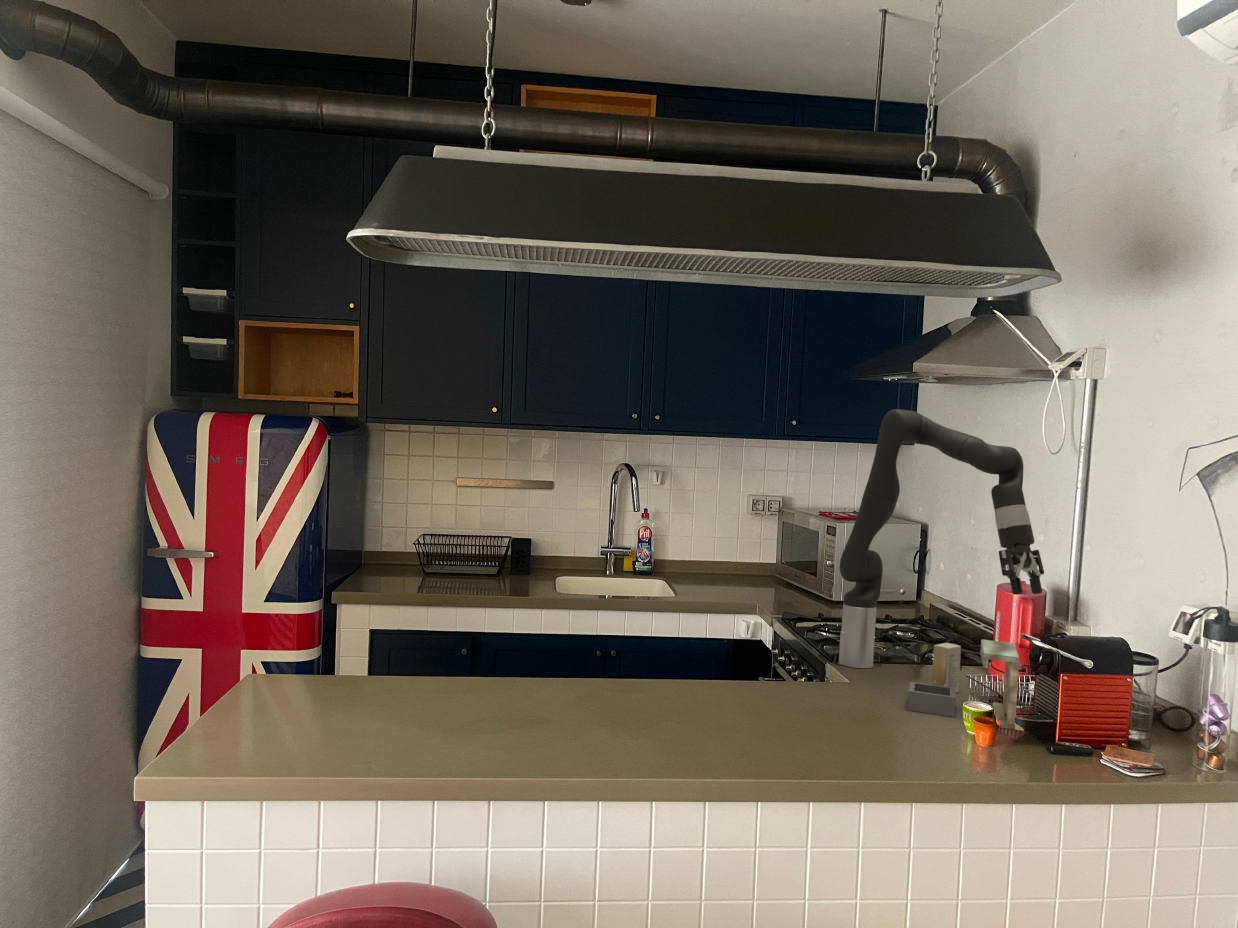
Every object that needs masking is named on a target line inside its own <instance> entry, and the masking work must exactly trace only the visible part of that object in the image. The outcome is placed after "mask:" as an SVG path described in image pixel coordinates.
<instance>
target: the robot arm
mask: <svg viewBox="0 0 1238 928" xmlns="http://www.w3.org/2000/svg"><path fill="white" fill-rule="evenodd" d="M878 433H879V434H878V437H877V442H876V449H875V453H874V458H873V462H872V464H871V468H870V473H869V476H868V479H867V482H866V485H865V488H864V491H863V494H862V498H861V501H860V505H859V508H858V512H857V515H856V518H855V520H854V524H853V527H852V530H851V533H850V535H849V537H848V540H847V542H846V543H845V544H846V545H845V547H844V549H843V552H842V554H841V557H840V561H839V572H840V574H841V575H840V576H841V578H842V579H844V581H847V582H849V583H851V582H852V583H855V585H854V587H853V588H852V589H851V590H849V591H848V592H846V593H845V594H844V595H843V600H842V601H843V602H842V603H843V604H842V618H841V631H840V637H839V654H838V665H841V666H846V667H849V668H856V669H871V668H873V666H874V652H875V651H874V650H875V634H876V620H877V618H876V617H877V604H878V600H879V598H880V595H881V589H882V581H883V571H884V569H883V561H882V558H881V555H880V554H879V553H878V552H877V551H875V550H872V549H869V548H870V545H871V544H872V541H873V539H874V538H875V536H876V535H877V534H878V533H879V532H880V531H881V529H882V528H883V527H884V526H885V525H886V523H888V521H889V520H890V518H891V517H892V516H893V514H894V512H895V509H896V505H897V502H898V499H899V497H900V490H901V489H900V488H901V487H900V480H899V475H898V471H897V470H898V469H897V460H898V456H899V454H900V453H899V452H900V449H901V447H902V444H904V445H910V444H911V445H912V444H917V445H923V446H927V447H928V446H929V447H933V448H935V449H937V450H938V451H939V452H941V453H942V454H944V455H946V456H947V457H949V458H951V459H954V460H957V461H960V462H962V463H964V464H967V465H968V464H969V465H970V466H971V467H973V468H975V469H976V470H979V471H981V472H983V473H986V474H990V475H998V484H995V485H994V486H992V488H991V490H990V491H991V493H990V494H991V499H992V504H993V508H994V509H993V510H994V520H995V524H996V529H997V535H998V539H999V540H998V541H999V545H1000V548H1002V549H1001V550H999V551H998V558H999V563H1000V568H1001V574H1002V576H1003V577H1005V576H1006V578H1007V579H1009V583H1010V587H1011V592H1012V595H1022V594H1023V590H1024V589H1023V585H1022V582H1021V581H1022V580H1021V577H1020V574H1021V571H1022V572H1024V573H1025V574H1026V575H1027V576H1028V578H1029V584H1030V588H1031V589H1030V590H1031V593H1032V594H1033V595H1038V594H1042V593H1043V587H1042V583H1041V578H1040V577H1042V575H1044V574H1045V570H1044V565H1043V562H1042V556H1041V553H1040V550H1039V549H1034V550H1032V549H1031V547H1030V546H1031V545H1034V543H1035V541H1036V540H1035V536H1034V533H1033V527H1032V524H1031V518H1030V514H1029V511H1028V509H1027V506H1026V501H1025V494H1024V491H1023V483H1024V461H1023V457H1022V455H1021V453H1020V452H1019V451H1018V449H1016V448H1014V447H1012V446H1007V445H1006V446H1004V445H995V444H991V443H987V442H985V441H984V440H983V438H982V439H981V438H980V437H978V436H974V435H972V434H969V433H965V432H962V431H959V430H955V429H952V428H949V427H946V426H943V425H942V424H939V423H937V422H935V421H933V420H932V419H930V418H928V417H926V416H925V415H923V414H922V413H919V412H917V411H915V410H909V409H908V410H907V409H900V408H898V409H897V408H896V409H891V410H889V411H888V412H887V413H885V415H884V416H883V419H882V420H881V424H880V428H879V432H878Z"/></svg>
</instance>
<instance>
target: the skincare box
mask: <svg viewBox="0 0 1238 928" xmlns="http://www.w3.org/2000/svg"><path fill="white" fill-rule="evenodd" d="M961 648H962V646H961V645H958V644H955V643H949V642H943V643H938V644H934V645H933V657H932V658H933V659H932V674H931V675H932V676H931V685H939V686H946V687H953V688H955V691H956V693H959V691H960V670H961V655H962V654H961V652H962V649H961Z"/></svg>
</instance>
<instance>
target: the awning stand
mask: <svg viewBox="0 0 1238 928" xmlns="http://www.w3.org/2000/svg"><path fill="white" fill-rule="evenodd" d="M979 654H980V657H981V665H982V669H988V670H989V660H993V661H994V660H995V661H1002V662H1004V663H1005V664H1004V665H1005V666H1004V678H1003V679H1004V680H1003V696H1002V703H1000V702H995V701H994V702H992V708H993V707H994V708H995V710H996V711H997V718H998V719H999V720H1000V723H1001V727H1000V728H1001V729H1002V728H1003V729H1008V730H1009V729H1010V730H1015V731H1021V732H1022V731H1024V729H1023V728H1022V727H1020V726H1019V725H1017V724H1016V723H1015V717H1016V708H1021V707H1020V705H1017V698H1018V697H1017V696H1018V682H1019V665H1020V657H1019V653H1018V651H1017V649H1016V646H1015V644H1014V642H1008V641H1007V642H1006V641H1000V640H991V639H990V640H989V639H984V638H983V639H980V653H979ZM1005 713H1006V716H1005ZM1024 732H1025V731H1024Z"/></svg>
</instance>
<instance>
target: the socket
mask: <svg viewBox="0 0 1238 928" xmlns="http://www.w3.org/2000/svg"><path fill="white" fill-rule="evenodd" d="M956 694H957V692H956V691H955V688H953V687H946V686H939V685H932V683H931V684H930V683H924V682H922V683H921V682H918V681H917V682H916V681H909V688H908V695H907V711H911V712H917V713H924V714H925V713H926V714H930V715H937V716H945V717H950V718H955V716H956V715H955V714H956V702H957V701H956V699H957V698H956V697H957V696H956Z"/></svg>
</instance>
